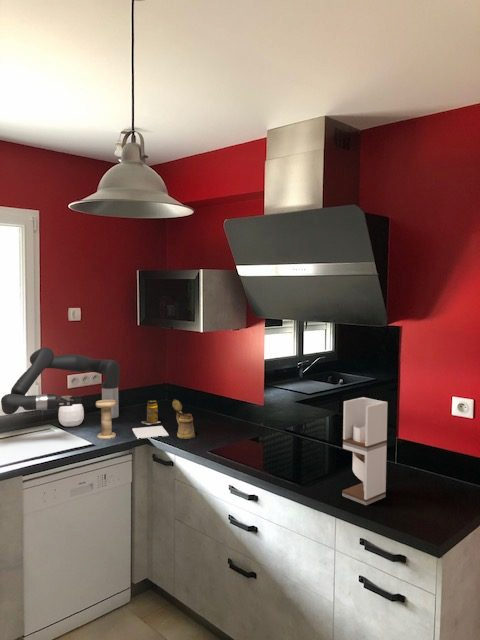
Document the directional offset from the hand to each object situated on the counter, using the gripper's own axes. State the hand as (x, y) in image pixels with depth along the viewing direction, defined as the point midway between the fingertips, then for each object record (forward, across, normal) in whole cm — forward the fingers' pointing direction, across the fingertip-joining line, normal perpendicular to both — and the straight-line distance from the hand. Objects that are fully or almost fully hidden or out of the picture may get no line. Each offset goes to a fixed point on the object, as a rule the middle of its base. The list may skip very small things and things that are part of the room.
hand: (81, 399), depth 259 cm
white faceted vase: (-4, +29, +20) cm, 36 cm away
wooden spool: (+12, 0, +20) cm, 23 cm away
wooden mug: (+49, -11, +20) cm, 54 cm away
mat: (+34, 0, +20) cm, 39 cm away
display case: (+93, -108, +20) cm, 144 cm away
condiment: (+38, +20, +20) cm, 47 cm away
